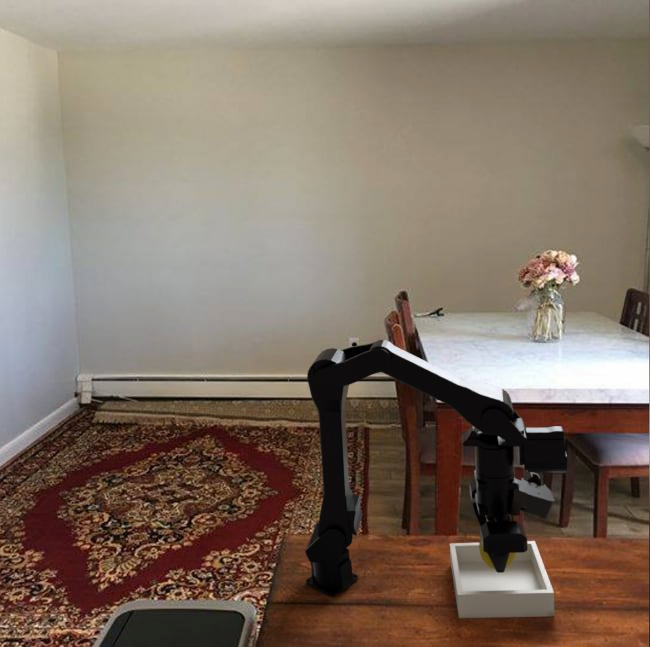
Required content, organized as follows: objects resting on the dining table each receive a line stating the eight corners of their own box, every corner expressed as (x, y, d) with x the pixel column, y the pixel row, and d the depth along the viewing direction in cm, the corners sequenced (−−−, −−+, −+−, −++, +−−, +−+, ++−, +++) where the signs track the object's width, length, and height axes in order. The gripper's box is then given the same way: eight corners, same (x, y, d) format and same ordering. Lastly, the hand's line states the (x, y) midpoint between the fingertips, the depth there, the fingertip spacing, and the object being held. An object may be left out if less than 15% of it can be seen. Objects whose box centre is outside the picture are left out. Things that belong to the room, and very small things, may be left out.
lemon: (481, 558, 113) (480, 514, 112) (517, 562, 112) (516, 517, 110) (478, 578, 108) (476, 532, 107) (515, 582, 107) (514, 535, 105)
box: (458, 618, 105) (457, 594, 104) (450, 564, 118) (449, 543, 117) (554, 616, 103) (554, 592, 102) (535, 562, 117) (534, 540, 116)
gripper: (564, 498, 96) (564, 597, 100) (536, 443, 114) (537, 528, 118) (482, 500, 97) (485, 598, 101) (467, 445, 115) (471, 530, 119)
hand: (497, 561), depth 110 cm, fingers closed on lemon, 5 cm apart
